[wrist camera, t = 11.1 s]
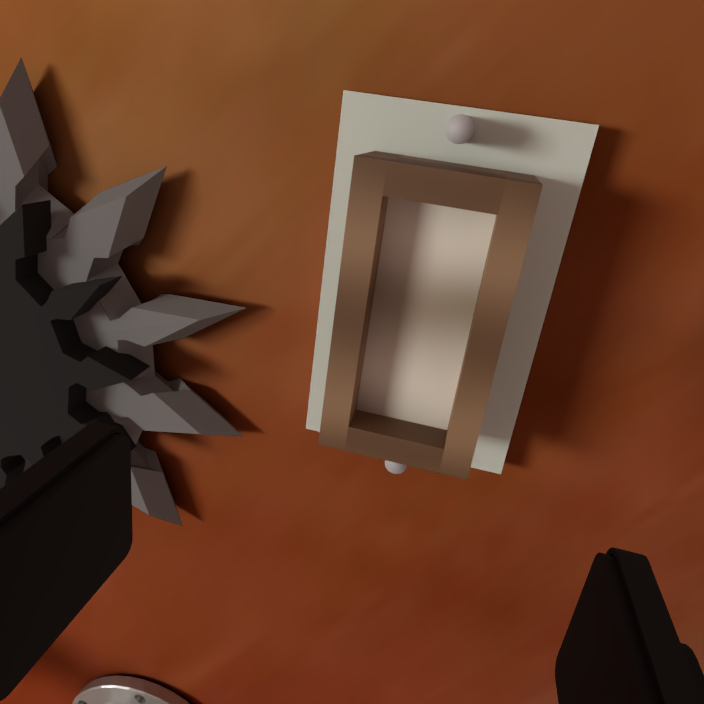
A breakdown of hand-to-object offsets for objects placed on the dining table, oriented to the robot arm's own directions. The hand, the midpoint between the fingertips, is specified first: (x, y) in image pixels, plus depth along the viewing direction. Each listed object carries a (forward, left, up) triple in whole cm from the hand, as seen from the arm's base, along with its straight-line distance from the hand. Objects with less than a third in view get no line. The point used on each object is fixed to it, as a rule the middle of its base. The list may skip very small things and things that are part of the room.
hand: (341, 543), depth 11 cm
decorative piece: (-7, +23, -18) cm, 30 cm away
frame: (0, 0, -16) cm, 16 cm away
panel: (0, 0, -17) cm, 17 cm away
